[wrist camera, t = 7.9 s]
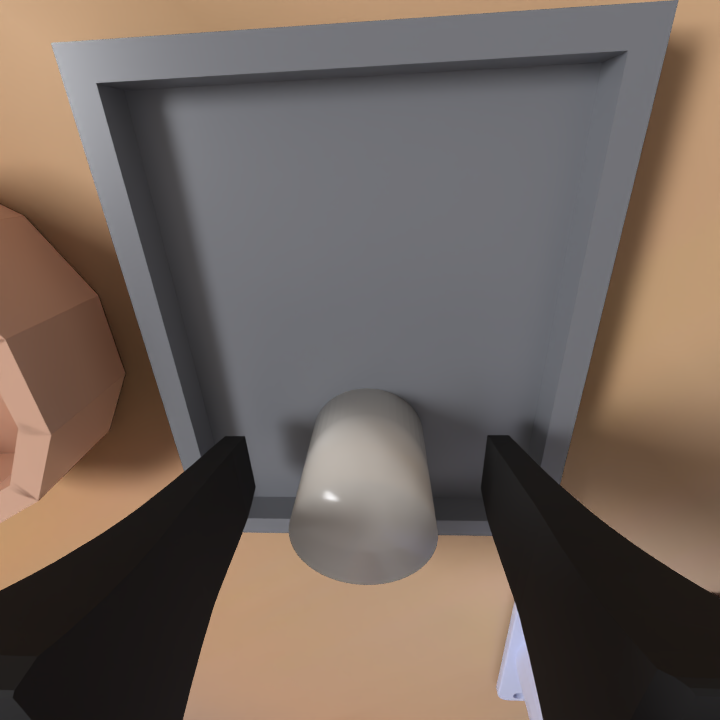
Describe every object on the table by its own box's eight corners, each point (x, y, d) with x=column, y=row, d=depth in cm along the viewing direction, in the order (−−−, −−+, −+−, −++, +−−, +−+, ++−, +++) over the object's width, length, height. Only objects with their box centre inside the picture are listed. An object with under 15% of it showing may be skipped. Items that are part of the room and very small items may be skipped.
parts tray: (632, 24, 9) (678, 0, 7) (532, 502, 15) (547, 536, 13) (98, 59, 9) (50, 42, 8) (218, 499, 16) (202, 531, 14)
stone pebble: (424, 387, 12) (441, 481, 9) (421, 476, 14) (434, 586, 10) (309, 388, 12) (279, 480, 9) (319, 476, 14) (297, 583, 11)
